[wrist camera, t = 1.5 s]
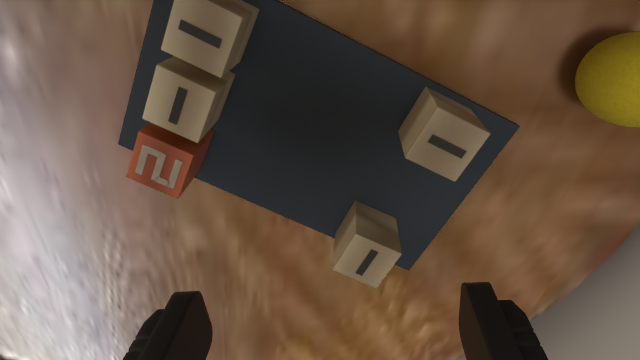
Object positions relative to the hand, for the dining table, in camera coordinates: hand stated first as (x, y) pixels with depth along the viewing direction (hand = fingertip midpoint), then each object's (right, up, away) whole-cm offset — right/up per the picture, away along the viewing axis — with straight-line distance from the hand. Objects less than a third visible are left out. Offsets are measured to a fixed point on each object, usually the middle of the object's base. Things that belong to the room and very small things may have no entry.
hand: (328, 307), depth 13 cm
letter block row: (+6, +4, +21) cm, 23 cm away
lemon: (+19, +12, +16) cm, 28 cm away
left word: (-8, +13, +17) cm, 23 cm away
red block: (-11, +7, +21) cm, 25 cm away
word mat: (-1, +8, +20) cm, 22 cm away
